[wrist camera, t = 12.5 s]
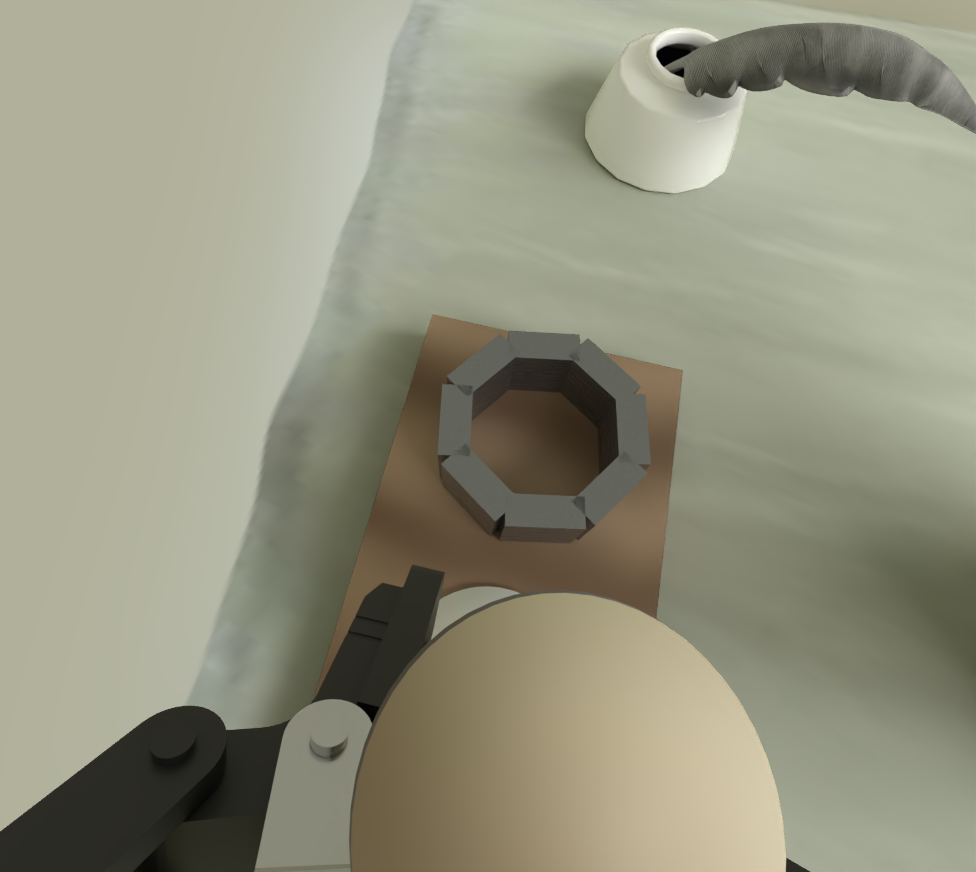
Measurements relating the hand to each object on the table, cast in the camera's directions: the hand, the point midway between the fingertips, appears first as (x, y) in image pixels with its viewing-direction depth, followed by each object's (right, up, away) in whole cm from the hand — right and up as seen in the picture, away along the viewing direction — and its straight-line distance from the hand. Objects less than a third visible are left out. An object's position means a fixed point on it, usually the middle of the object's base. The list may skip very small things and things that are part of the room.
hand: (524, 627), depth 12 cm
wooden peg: (-1, -4, +4) cm, 6 cm away
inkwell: (+13, +20, +21) cm, 32 cm away
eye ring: (+1, +4, +12) cm, 12 cm away
